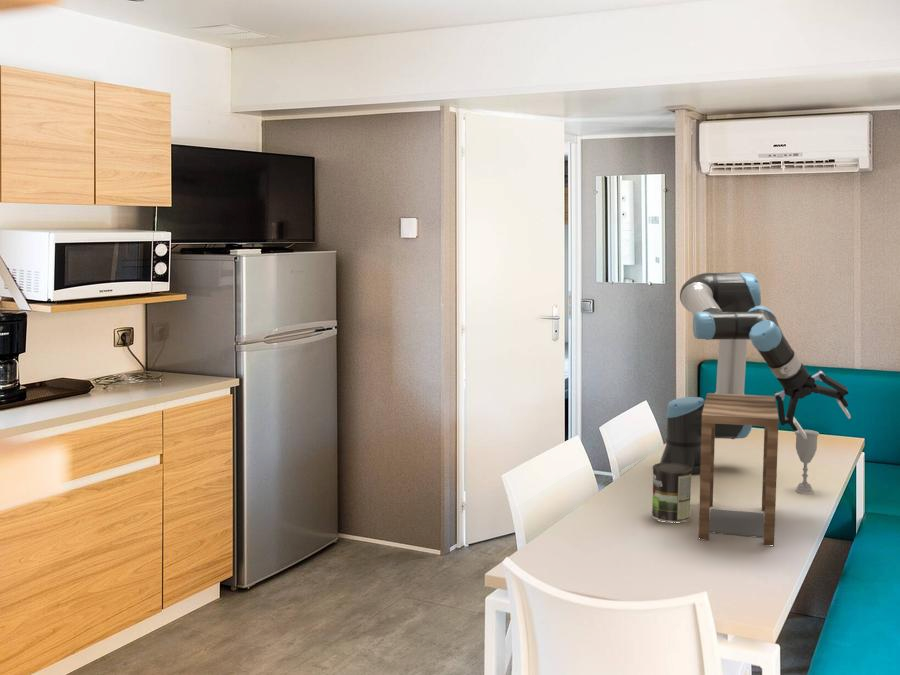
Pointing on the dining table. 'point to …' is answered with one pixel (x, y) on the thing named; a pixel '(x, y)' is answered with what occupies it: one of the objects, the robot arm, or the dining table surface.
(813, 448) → the chalice
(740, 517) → the mat
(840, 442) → the dining table surface
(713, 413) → the wooden stool
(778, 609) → the dining table surface
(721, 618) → the dining table surface
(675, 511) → the coffee can
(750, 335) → the robot arm
